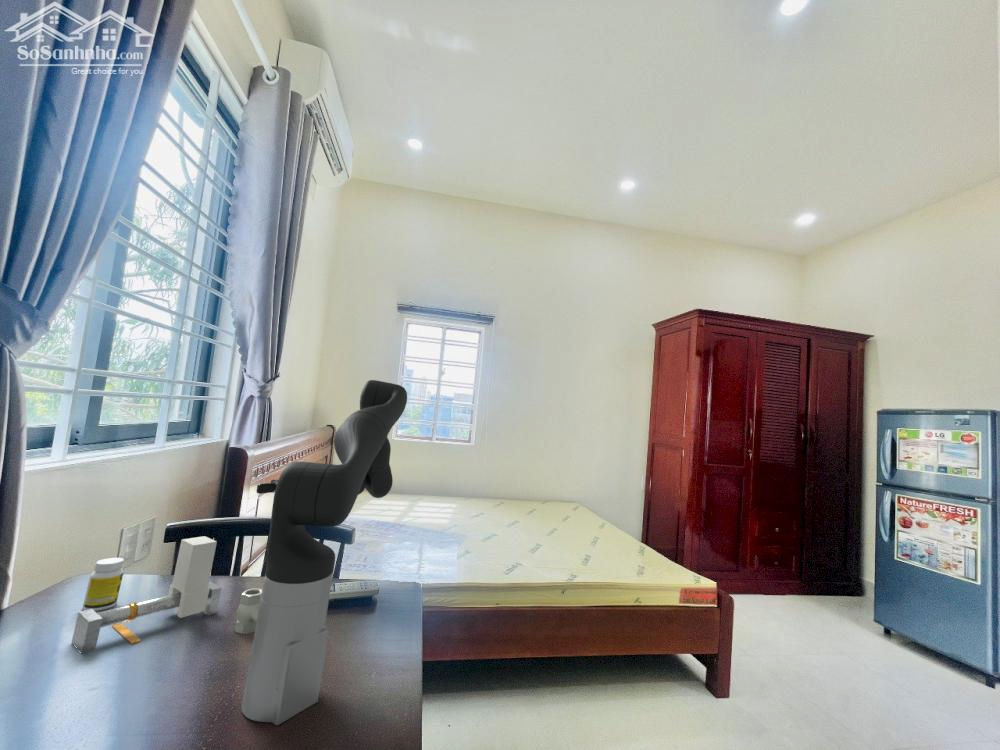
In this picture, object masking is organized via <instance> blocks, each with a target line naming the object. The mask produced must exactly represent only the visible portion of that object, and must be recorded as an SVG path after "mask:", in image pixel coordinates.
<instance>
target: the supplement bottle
mask: <svg viewBox="0 0 1000 750" xmlns="http://www.w3.org/2000/svg"><path fill="white" fill-rule="evenodd" d="M124 561H125V560H124V558H123V557H111V558H109V557H108V558H102V559H99V560H97V561H96V563H95V566H94V569H93V570H94V571H93V572H92V573H91V574H90V575H89V576H90V577H89V579H88V584H87V588H86V592H85V594H84V595H85V596H84V600H83V605H82V611H85V610H89V609H93V610H94V611H95V612H100V611H105V610H108V609H110V608H113V607H114V606H115V605H116V604H117V602H118V598H119V593H120V589H121V585H122V582H123V581H122V580H123V577H124V569H123V566H124ZM99 610H100V611H99Z"/></svg>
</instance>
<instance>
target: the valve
mask: <svg viewBox="0 0 1000 750" xmlns="http://www.w3.org/2000/svg"><path fill="white" fill-rule="evenodd" d="M262 589H263V588H250V589H246V590H244V591H243V592H242V594H241V595H240V601H239V602H240V603H239V605H238V607H237V611H236V620H237V621H236V623H235V628H234V632H235V633H238V634H241V635H245V634H250V633H253V632H254V633H255V628H256V622H257V617H258V611H259V605H260V600H261V595H262Z"/></svg>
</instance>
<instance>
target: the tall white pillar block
mask: <svg viewBox="0 0 1000 750" xmlns="http://www.w3.org/2000/svg"><path fill="white" fill-rule="evenodd" d="M217 542H218V541H217V540H214V539H212V538H210V537H208V536H205V535H204V536H197V537H190V538H183V539H181V542H180V544H179V545H180V546H179V549H178V550H179V551H178V553H177V554H178V556H177V559H176V564H175V568H174V574H173V578H172V583H171V584H169V585H170V586H169V590H168V594H167V596H168V595H172V594H176V593H180V592H182V594H181V599H180V604H179V607H178V608H177V607H175V608H177V609H178V610H177V618H180V619H181V618H185V617H189V616H191V615H195V614H199V613H203V611H205V609H206V604H207V599H208V594H209V588H208V584H209V581H210V579H211V574H212V568H213V564H214V563H213V562H214V559H215V558H214V557H215V553H216V548H217V544H218V543H217ZM175 608H174V609H175Z"/></svg>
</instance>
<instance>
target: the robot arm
mask: <svg viewBox="0 0 1000 750" xmlns="http://www.w3.org/2000/svg"><path fill="white" fill-rule="evenodd" d="M407 403H408V392H407V390H406V388H405V387H404V386H402V385H400V384H397V383H391V382H386V381H381V380H375V379H370V380H368V381H366V382H365V384H364V386H363V387H362V390H361V394H360V398H359V409H358V410H356V411H354V412H353V413H351V414H350V415H349V416H347V418H346V419H345V420H344V421H343V422H342V423H341V425H339V427H338V428H337V430H336V432H335V434H334V438H333V445H334V449H335V453H336V456H337V458H338V459H339V462H340V463H341V464H331V463H320V462H309V461H293V462H291V463H289V464H288V465H287V466H286V467H285V468H284V469H283V471H281V474H280V475H279V478H278V479H271V481H270V482H264V483H263V482H262V483H258V484H257V486H256V494H259V495H260V494H262V495H263V494H269V493H270V494H271V493H274V495H273V501H272V508H271V519H270V525H269V526H270V527H269V532H268V533H269V534H268V540H267V547H266V568H265V572H264V580H263V585H262V588H261V589H262V595H261V600H260V605H259V611H258V617H257V622H256V628H255V631H254V633H253V634H254V635H253V640H252V646H251V651H250V657H249V661H248V668H247V673H246V680H245V684H244V690H243V696H242V700H241V706H240V707H241V712H242V714H243V715H244V716H245V717H246V718H247V719H249V720H251V721H254V722H260V723H272V724H274V725H275V726H279V725H280V724H282V723H284V722H286V721H288V720H290V719H291V718H292V717H294V716H296V715H298V714H299V713H301V712H303V711H305V710H306V709H307V708H310V707H311V706H313V705H314V704H316V703H318V702H319V696H320V690H321V684H322V678H323V677H322V676H323V671H324V663H325V656H326V652H327V644H328V636H329V631H328V629H325V627H326V622H327V621H326V620H327V614H328V608H329V602H330V601H329V600H330V597H331V596H330V594H331V588H332V583H333V575H334V570H335V569H334V568H335V563H336V553H335V551H334V550H333V549H332V548H331V547H330V546H328V545H326V544H324V543H322V542H320V541H318V540H317V539H315V538H314V537H313V536H312V535H311V534H310V533H309V532H308V531H307V530H306V528H305V526H309V527H322V528H332V527H337V526H339V525H341V524H343V522H345V520H346V519H347V518H348V517H349V515H350V513H351V512H352V510H353V508H354V505H355V503H356V501H357V499H358V496H359V495H360V494H362V493H363V492H365V490H366V492H368V494H369V495H370V496H371V497H372V498H376V499H381V498H384V497H385V496H387V495H388V494H389V492H391V490H392V487H393V483H394V482H393V474H392V468H391V466H390V465H391V464H390V462H391V461H390V459H391V449H392V448H391V447H392V446H391V442H390V439H389V438H388V436H389V433H390V431H391V429H392V428H393V427H394V425H395V424H396V423H397V422H398V420H400V418H401V416H402V414H403V413H404V411H405V409H406V406H407Z"/></svg>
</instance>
